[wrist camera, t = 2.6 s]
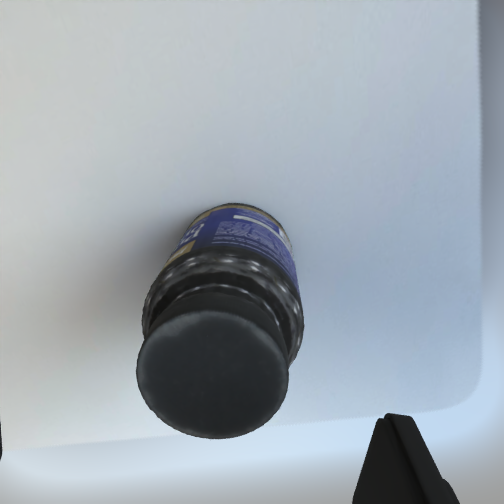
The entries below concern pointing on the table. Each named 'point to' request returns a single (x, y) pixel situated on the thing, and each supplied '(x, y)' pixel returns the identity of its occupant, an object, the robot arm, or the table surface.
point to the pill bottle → (222, 325)
